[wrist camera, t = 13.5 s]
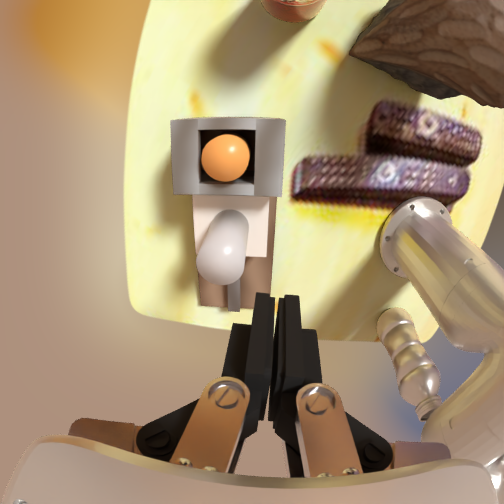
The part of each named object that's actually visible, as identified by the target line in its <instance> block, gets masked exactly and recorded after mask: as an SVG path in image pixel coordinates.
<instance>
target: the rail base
mask: <svg viewBox="0 0 504 504" xmlns="http://www.w3.org/2000/svg"><path fill="white" fill-rule="evenodd" d="M285 125H286V120H284V119H280V118H262V117H203V118H187V119H178V120H171V156H172V177H173V193H174V194H197V195H248V196H269V216H268V236H267V254H266V257H251V256H246V257H245V265H244V271H243V273H242V275H241V277H240V278H239V279H238V280H237V281H235V282H233V283H231V284H228V285H216V284H213V283H210V282H208V281H207V280H205V279H204V278H203V277H202V276H201V275H200V273H199V272H198V277H199V288H200V298H201V305H202V306H217V307H228V311H235V312H240V308H254V303H255V296H256V292H260V293H270V292H271V279H272V265H273V250H274V235H275V219H276V203H277V197H282V183H283V166H284V146H285ZM224 133H236V134H239V135H241V136H242V137H244V138H245V139H246V140H247V142H248V143H249V146H250V149H251V156H250V159H249V163H248V166H247V168H246V170H245V172H244V173H243V174H242V175H241V176H240V177H239V178H237V179H235V180H232V181H226V182H224V181H218V180H215V179H213V178H212V177H210V176H209V175H208V174H207V173H206V171H205V170H204V168H203V165H202V159H201V158H202V152H203V149H204V147H205V146H206V144H207V143H208V142H209V141H211V140H212V139H214V138H216V137H218V136H220V135H222V134H224ZM197 255H198V254H197Z"/></svg>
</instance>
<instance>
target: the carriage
mask: <svg viewBox="0 0 504 504" xmlns="http://www.w3.org/2000/svg"><path fill="white" fill-rule="evenodd" d="M192 200H193V219H194V235H195V249H196V254H198V255H197V258H196V266H197V270H198V272H199V273H200V275H201V276H202V277H203V278H204V279H205V280H207V281H208V282H210V283H213V284H216V285H228V284H231V283H233V282H235V281H237V280H238V279H239V278H240V277H241V275H242V273H243V271H244V265H245V257H246V256H251V257H266V254H267V236H268V216H269V196H248V195H197V194H193V195H192Z"/></svg>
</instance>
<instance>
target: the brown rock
mask: <svg viewBox="0 0 504 504" xmlns="http://www.w3.org/2000/svg"><path fill="white" fill-rule="evenodd" d="M349 54H350V55H351V56H353V57H356V58H358V59H360V60H362V61H365V62H367V63H369V64H371V65H373V66H374V67H376V68H378V69H380V70H383V71H385V72H387V73H389V74H390V75H391V76H392V77H393V78H395V79H398V80H402V81H404V82H406V83H407V84H408V85H409V86H410V87H411V88H412V89H414V90H416V91H420V92H422V93H424V94H427V95H429V96H432V97H435V98H437V99H440V100H441V99H445V98H450V97H456V96H459V95H465V96H468V97H470V98H472V99H473V100H475V101H476V102H477V103H478V104H480V105H482V106H486V105H489V106H491V107H494V108H495V107H498V108H504V0H389V1H388V3H387V4H386V6H384V7H383V8H382V10H381V12H380V14H379V15H378V16H376V17H374V18H373V21H372V24H370V25H369V27H368V28H367V29H366V30H365V31H363V32H362V33H361V34H360V35H359V36H358V38H357V41H356V44H355V45H354V46H353V47H352V49H351V50H350V52H349Z"/></svg>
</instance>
